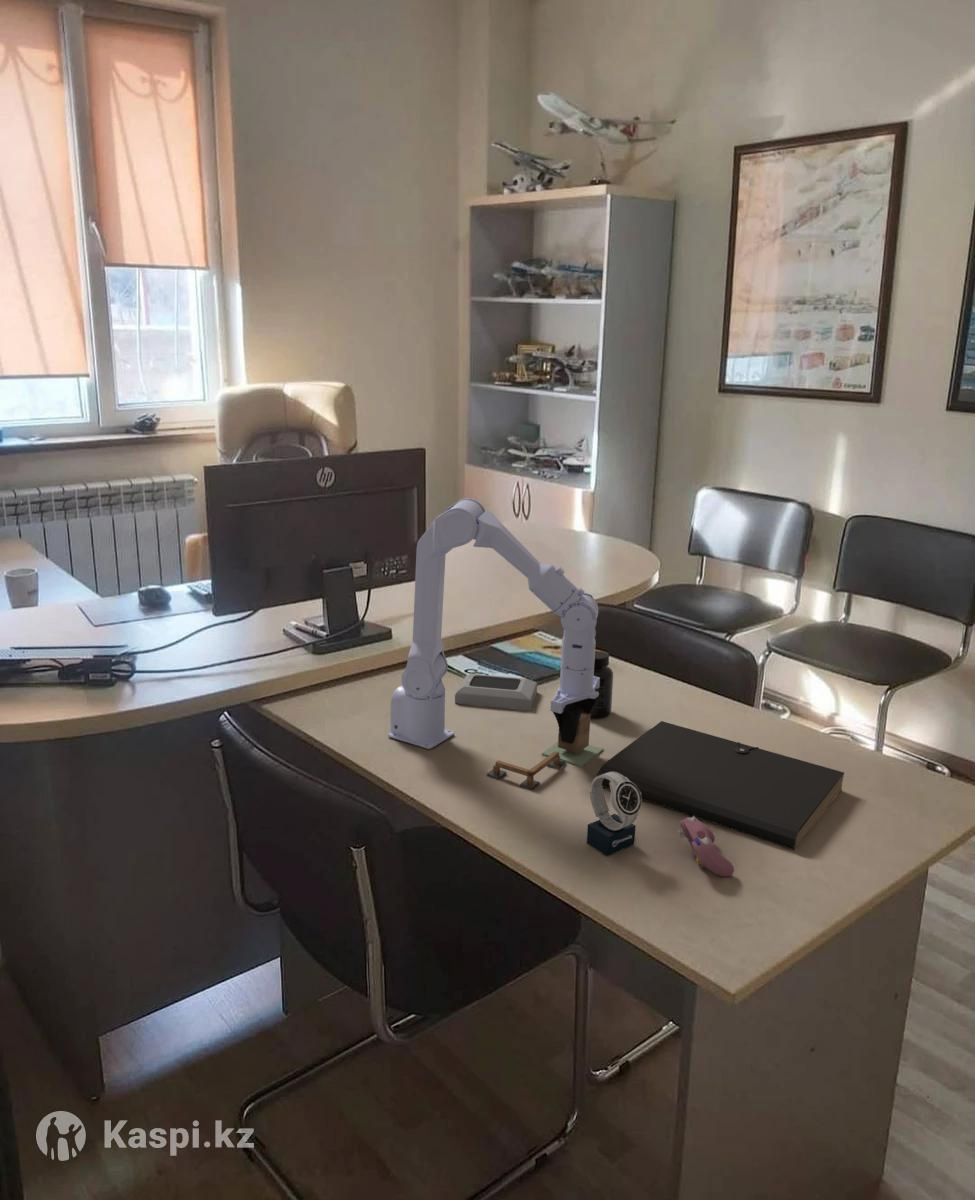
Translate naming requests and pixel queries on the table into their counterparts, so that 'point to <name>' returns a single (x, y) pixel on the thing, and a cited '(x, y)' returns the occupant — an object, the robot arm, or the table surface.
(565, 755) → the mat
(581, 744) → the block
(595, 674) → the supplement bottle
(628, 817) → the watch
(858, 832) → the table surface
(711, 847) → the pink curved piece
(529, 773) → the brown angled rail
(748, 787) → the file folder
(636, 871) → the table surface
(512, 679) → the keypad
